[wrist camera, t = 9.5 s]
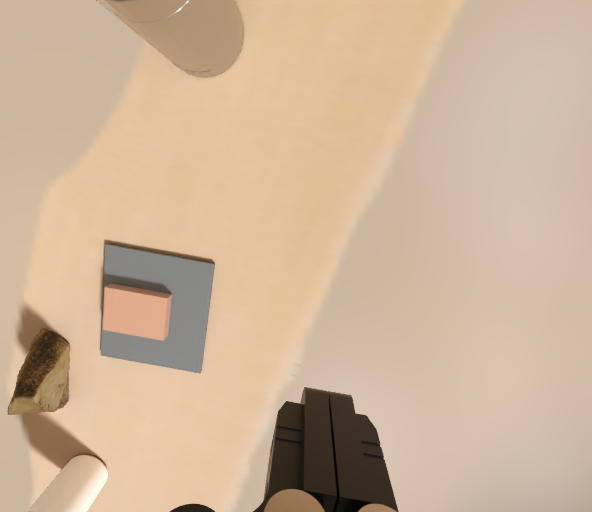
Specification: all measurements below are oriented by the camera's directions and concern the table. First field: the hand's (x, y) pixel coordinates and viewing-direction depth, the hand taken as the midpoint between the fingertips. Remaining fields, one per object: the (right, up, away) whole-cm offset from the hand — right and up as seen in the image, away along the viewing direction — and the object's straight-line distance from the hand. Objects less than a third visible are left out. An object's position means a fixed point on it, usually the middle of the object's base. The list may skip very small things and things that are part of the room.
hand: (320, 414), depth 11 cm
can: (-33, -28, +41) cm, 60 cm away
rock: (-35, -11, +37) cm, 52 cm away
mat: (-20, -2, +34) cm, 40 cm away
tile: (-18, -3, +33) cm, 37 cm away
